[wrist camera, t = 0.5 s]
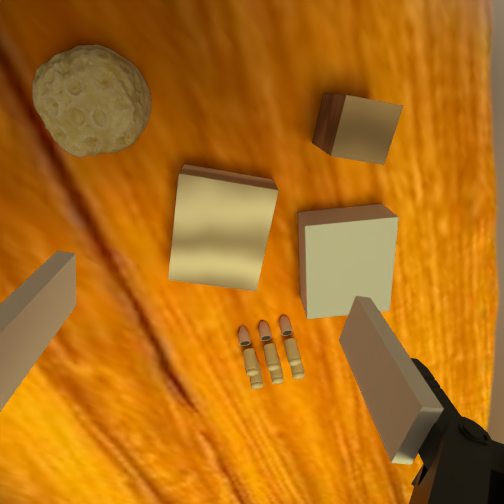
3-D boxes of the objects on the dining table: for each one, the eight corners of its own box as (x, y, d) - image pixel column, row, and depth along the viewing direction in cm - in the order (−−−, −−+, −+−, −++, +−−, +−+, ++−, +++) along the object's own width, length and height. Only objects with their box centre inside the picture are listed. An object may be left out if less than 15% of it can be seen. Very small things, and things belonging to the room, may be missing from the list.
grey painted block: (297, 211, 42) (305, 226, 37) (380, 202, 42) (398, 216, 38) (299, 296, 47) (307, 319, 43) (374, 289, 47) (389, 310, 43)
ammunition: (306, 381, 47) (293, 335, 43) (253, 393, 47) (236, 349, 44) (300, 356, 51) (288, 312, 48) (251, 368, 52) (236, 325, 48)
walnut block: (323, 93, 36) (346, 94, 29) (369, 101, 37) (403, 105, 30) (312, 142, 38) (330, 155, 31) (355, 150, 39) (384, 164, 32)
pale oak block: (184, 163, 39) (178, 173, 34) (273, 178, 40) (278, 190, 36) (174, 259, 44) (168, 279, 39) (253, 270, 45) (256, 291, 40)
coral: (144, 43, 34) (122, 32, 27) (162, 143, 38) (147, 156, 31) (47, 51, 34) (0, 42, 27) (75, 150, 37) (40, 165, 31)
